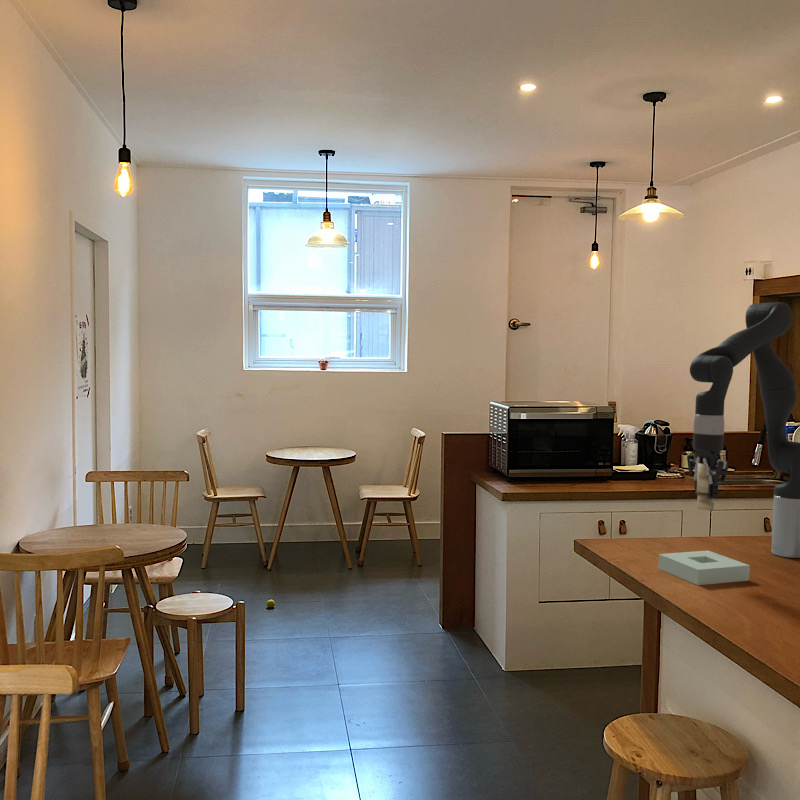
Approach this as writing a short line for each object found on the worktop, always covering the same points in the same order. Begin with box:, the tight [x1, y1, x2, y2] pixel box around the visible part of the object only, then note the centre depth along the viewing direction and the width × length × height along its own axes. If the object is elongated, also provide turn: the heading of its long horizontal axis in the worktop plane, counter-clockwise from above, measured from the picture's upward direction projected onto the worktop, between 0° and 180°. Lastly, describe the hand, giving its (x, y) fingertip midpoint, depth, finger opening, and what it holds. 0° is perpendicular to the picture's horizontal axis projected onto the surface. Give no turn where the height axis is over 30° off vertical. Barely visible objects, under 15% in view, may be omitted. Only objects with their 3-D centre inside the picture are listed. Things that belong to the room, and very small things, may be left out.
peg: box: [696, 463, 716, 511], centre depth 213 cm, size 5×5×12 cm
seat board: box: [657, 550, 751, 586], centre depth 214 cm, size 16×16×4 cm
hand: (705, 496), depth 213 cm, fingers closed on peg, 4 cm apart
